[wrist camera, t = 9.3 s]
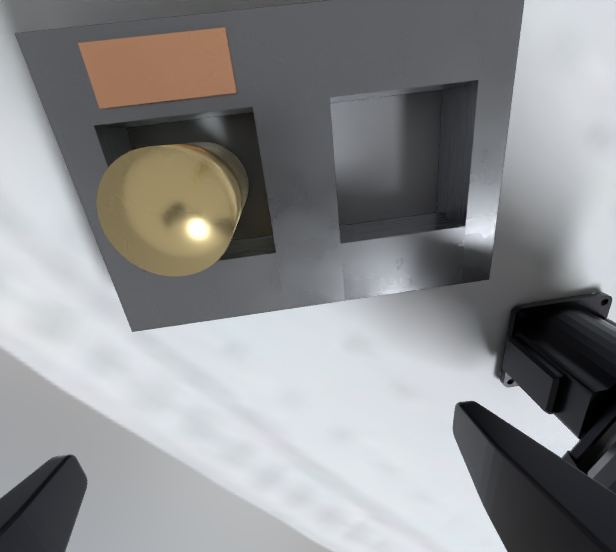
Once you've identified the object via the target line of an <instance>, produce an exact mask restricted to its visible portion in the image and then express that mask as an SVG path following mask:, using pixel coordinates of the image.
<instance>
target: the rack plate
mask: <svg viewBox="0 0 616 552" xmlns="http://www.w3.org/2000/svg"><path fill="white" fill-rule="evenodd" d="M523 7H524V0H328V1H318V2H308V3H299V4H289V5H280V6H270V7H261V8H251V9H242V10H232V11H223V12H213V13H203V14H194V15H184V16H175V17H165V18H156V19H146V20H137V21H127V22H118V23H108V24H98V25H89V26H79V27H70V28H60V29H51V30H41V31H32V32H22V33H15V36H16V38H17V41H18V43H19V46H20V48H21V51H22V53H23V56H24V58H25V61H26V64H27V66H28V69H29V71H30V74H31V76H32V79H33V81H34V84H35V86H36V89H37V91H38V94H39V97H40V99H41V102H42V104H43V107H44V109H45V112H46V114H47V117H48V119H49V122H50V124H51V127H52V129H53V132H54V135H55V137H56V140H57V142H58V145H59V147H60V150H61V152H62V155H63V157H64V160H65V162H66V165H67V168H68V170H69V173H70V175H71V178H72V180H73V183H74V185H75V188H76V190H77V193H78V195H79V198H80V200H81V203H82V206H83V208H84V211H85V213H86V216H87V218H88V221H89V223H90V226H91V228H92V231H93V233H94V236H95V239H96V241H97V244H98V246H99V249H100V251H101V254H102V256H103V259H104V261H105V264H106V266H107V269H108V272H109V274H110V277H111V279H112V282H113V284H114V287H115V289H116V292H117V294H118V297H119V299H120V302H121V304H122V307H123V310H124V312H125V315H126V317H127V320H128V322H129V325H130V327H131V330H132V332H135V331H142V330H148V329H155V328H162V327H169V326H176V325H182V324H189V323H196V322H203V321H210V320H216V319H223V318H230V317H237V316H244V315H250V314H257V313H264V312H271V311H277V310H284V309H291V308H298V307H305V306H311V305H318V304H325V303H332V302H339V301H345V300H352V299H359V298H366V297H373V296H379V295H386V294H393V293H400V292H406V291H413V290H420V289H427V288H434V287H440V286H447V285H454V284H461V283H468V282H474V281H481V280H488V279H489V276H490V268H491V260H492V252H493V244H494V236H495V228H496V220H497V213H498V205H499V197H500V189H501V181H502V173H503V165H504V157H505V149H506V141H507V133H508V126H509V118H510V110H511V102H512V94H513V86H514V78H515V70H516V62H517V54H518V46H519V39H520V31H521V23H522V15H523ZM435 90H442V111H441V131H440V151H439V171H438V192H437V212H436V213H430V214H423V215H415V216H408V217H401V218H393V219H386V220H379V221H371V222H364V223H357V224H349V225H342V226H339V217H338V204H337V191H336V177H335V164H334V151H333V137H332V124H331V111H330V103H334V102H343V101H351V100H360V99H368V98H376V97H385V96H393V95H402V94H410V93H418V92H427V91H435ZM251 112H254V118H255V125H256V131H257V137H258V143H259V149H260V156H261V162H262V168H263V174H264V180H265V187H266V193H267V199H268V205H269V211H270V218H271V224H272V230H273V235H269V236H262V237H254V238H247V239H240V240H232V241H230V243H229V245H228V247H227V249H226V251H225V252H224V254H223V255H222V256H221V257H220V258H219V260H217V261H216V262H215V263H214V264H213V265H211V266H210V267H208V268H207V269H205V270H203V271H201V272H198V273H195V274H192V275H187V276H177V277H176V276H164V275H158V274H155V273H151V272H148V271H146V270H143V269H141V268H139V267H138V266H136V265H134V264H133V263H131V262H130V261H128V260H127V259H126V258H124V257H123V256H122V255H121V254H120V253H119V252H118V251H117V250H116V249H115V248H114V247H113V245H112V244H111V243H110V241H109V240H108V238H107V237H106V235H105V233H104V231H103V229H102V227H101V224H100V221H99V217H98V212H97V192H98V188H99V184H100V181H101V179H102V177H103V175H104V173H105V172H106V170H107V169H108V167H109V166H110V165H111V164H112V163H113V162H114V161H115V160H117V159H118V158H119V157H120V156H122V155H124V154H126V153H128V152H129V151H132V150H133V147H132V143H131V140H130V137H129V134H128V130H127V127H133V126H142V125H150V124H158V123H167V122H175V121H183V120H192V119H200V118H209V117H217V116H225V115H234V114H242V113H251Z"/></svg>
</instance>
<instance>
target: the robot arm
mask: <svg viewBox="0 0 616 552" xmlns="http://www.w3.org/2000/svg"><path fill="white" fill-rule="evenodd" d="M611 303H612V297H611V296H609V295H607V294H605V293H596V294H589V295H583V296H576V297H569V298H563V299H556V300H550V301H543V302H536V303H530V304H523V305H518V306H516V307H515V308H514V309H513V310H512V312H511V316H510V323H509V329H508V335H507V341H506V347H505V353H504V359H503V365H502V371H501V377H500V381H501V382H502V384H503V385H504V386H505V387H514V386H520V387H521V388H522V389H523V390H524V391H525V392H526V393H527V394H528V395H529V396H530V397H531V398H532V399H533V400H534V401H535V402H536V403H537V404H538V405H539V406H540V407H541V408H542V409H543V410H544V411H545V412H546V413H548V414H554V415H555V416H556V417H557V418H558V419H559V420H560V421H561V422H562V423H563V424H564V425H565V426H566V427H567V428H568V429H569V430H570V431H571V432H572V433H573V434H574V435H575V436H576V437H577V438H578V439H580V440H579V442H578V443H577V444H576V445H575V446H574V447H573V449H572V450H571V451H567V452H566V453H565V455H564V456H563V457H562V458H560V457H559V456H557V455H556V454H554V453H553V452H551V451H550V450H548V449H547V448H545V447H544V446H542V445H541V444H539V443H538V442H536V441H535V440H533V439H532V438H530V437H529V436H527V435H525V434H524V433H522V432H521V431H519V430H518V429H516V428H515V427H513V426H512V425H510V424H509V423H507V422H506V421H504V420H503V419H501V418H500V417H498V416H497V415H495V414H494V413H492V412H490V411H489V410H487V409H486V408H484V407H483V406H481V405H480V404H478V403H477V402H474V401H466V402H459V403H457V404H456V405H455V411H454V420H453V433H454V437H455V439H456V442H457V444H458V447H459V449H460V451H461V454H462V456H463V459H464V461H465V463H466V466H467V468H468V471H469V473H470V475H471V478H472V480H473V483H474V485H475V487H476V490H477V492H478V494H479V497H480V499H481V501H482V503H483V506H484V508H485V510H486V512H487V514H488V516H489V518H490V520H491V521H492V523H493V525H494V527H495V529H496V531H497V533H498V535H499V536H500V538H501V540H502V542H503V544H504V546H505V548H506V550H507V552H616V323H615V322H613V321H611V320H609V319H607V316H608V312H609V309H610V306H611ZM521 312H522V313H521ZM520 313H521V314H520ZM519 314H520V315H519ZM86 488H87V477H86V475H85V473H84V471H83V469H82V467H81V465H80V464H79V462H78V460H77V458H76V457H75V456H74V455H62V456H56V457H53V458H51V459H50V460H48V461H47V462H46V463H44V464H43V465H42V466H41V467H40V468H38V469H37V470H36V471H35V472H33V473H32V474H31V475H29V476H28V477H27V478H26V479H24V480H23V481H22V482H21V483H19V484H18V485H17V486H16V487H14V488H13V489H12V490H11V491H9V492H8V493H7V494H5V495H4V496H3V497H2V498H0V552H65V550H66V548H67V545H68V542H69V539H70V536H71V533H72V530H73V527H74V524H75V521H76V518H77V515H78V512H79V509H80V506H81V503H82V500H83V497H84V494H85V491H86Z"/></svg>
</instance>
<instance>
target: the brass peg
mask: <svg viewBox="0 0 616 552" xmlns="http://www.w3.org/2000/svg"><path fill="white" fill-rule="evenodd" d="M248 191H249V183H248V177H247V174H246V171H245V169H244V167H243V165H242V163H241V162H240V160H239V159H238V158H237V157H236V156H235V155H234V154H233V153H232V152H231V151H229V150H228V149H226V148H225V147H223V146H221V145H218V144H215V143H211V142H193V143H182V144H171V145H160V146H149V147H143V148H138V149H135V150H132V151H129V152H128V153H126V154H124V155H122V156H120V157H119V158H118V159H117V160H115V161H114V162H113V163H112V164H111V165H110V166H109V167H108V169H107V170H106V172H105V173H104V175H103V177H102V179H101V181H100V184H99V188H98V192H97V212H98V217H99V221H100V224H101V227H102V229H103V231H104V233H105V235H106V237H107V238H108V240H109V241H110V243H111V244H112V245H113V247H114V248H115V249H116V250H117V251H118V252H119V253H120V254H121V255H122V256H123V257H124V258H126V259H127V260H128V261H130V262H131V263H133V264H134V265H136V266H138V267H139V268H141V269H143V270H146V271H148V272H151V273H155V274H158V275H164V276H176V277H177V276H187V275H192V274H195V273H198V272H201V271H203V270H205V269H207V268H208V267H210V266H211V265H213V264H214V263H215V262H216V261H217V260H219V258H220V257H221V256H222V255H223V254H224V252H225V251H226V249H227V247H228V245H229V243H230V241H231V239H232V236H233V233H234V231H235V228H236V226H237V223H238V221H239V218H240V216H241V213H242V210H243V208H244V205H245V203H246V200H247V197H248Z"/></svg>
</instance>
